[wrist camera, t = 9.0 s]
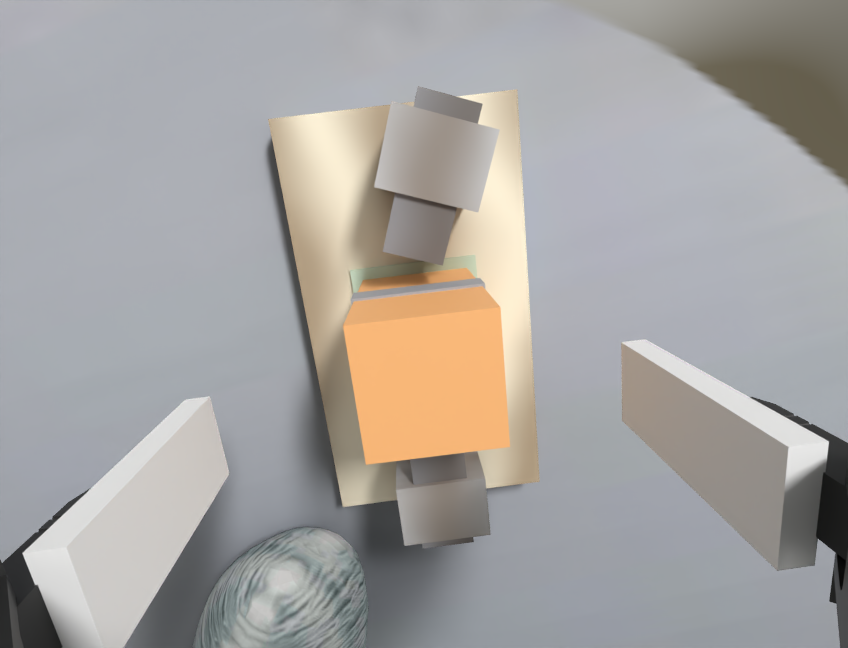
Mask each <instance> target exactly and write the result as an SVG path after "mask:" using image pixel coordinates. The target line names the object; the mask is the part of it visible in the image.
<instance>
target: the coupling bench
mask: <svg viewBox="0 0 848 648" xmlns="http://www.w3.org/2000/svg"><path fill="white" fill-rule="evenodd" d="M268 121H269V126H270V131H271V136H272V141H273V147H274V152H275V157H276V162H277V167H278V173H279V178H280V183H281V188H282V193H283V199H284V204H285V209H286V214H287V219H288V224H289V230H290V235H291V240H292V245H293V250H294V256H295V261H296V266H297V271H298V276H299V282H300V287H301V292H302V297H303V302H304V308H305V313H306V318H307V323H308V328H309V333H310V339H311V344H312V349H313V354H314V359H315V365H316V370H317V375H318V380H319V385H320V391H321V396H322V401H323V406H324V411H325V417H326V422H327V427H328V432H329V437H330V442H331V448H332V453H333V458H334V463H335V468H336V474H337V479H338V484H339V489H340V494H341V500H342V505H343V507H347V506H355V505H363V504H370V503H378V502H386V501H394V500H398V507H399V513H400V520H401V526H402V533H403V539H404V546H408V545H415V544H422V547H423V548H431V547H438V546H446V545H454V544H461V543H469V542H474V541H473V537H476V536H484V535H491V534H490V523H489V513H488V502H487V491H486V488H494V487H501V486H509V485H517V484H525V483H532V482H539V465H538V447H537V430H536V412H535V394H534V377H533V359H532V342H531V324H530V306H529V289H528V271H527V254H526V236H525V218H524V201H523V183H522V166H521V148H520V130H519V113H518V95H517V90H509V91H500V92H492V93H483V94H475V95H467V96H458V97H456V96H452V95H449V94H445V93H441V92H438V91H434V90H430V89H426V88H423V87H419V86H418V88H417V92H416V97H415V102H408V103H397V102H394V101H391V105H383V106H375V107H366V108H358V109H349V110H341V111H333V112H324V113H316V114H308V115H299V116H291V117H282V118H274V119H268ZM460 268H467V269H468V270H469V271H470V272H471V273H472V274H473V276H474V277H475V278H481V279H482V281H483V282H484V283H485V289H486V291H487V292H488V293H489V294H490V295H491V297H492V298H493V299H494V300H495V301H496V302H497V304H498V305H499V306H500V308H501V322H502V337H503V351H504V366H505V380H506V395H507V409H508V424H509V438H510V447H506V448H497V449H489V450H481V451H473V452H465V453H457V454H449V455H441V456H433V457H425V458H417V459H409V460H401V461H393V462H385V463H376V464H368V465H366V462H365V456H364V450H363V444H362V438H361V432H360V426H359V420H358V414H357V408H356V402H355V396H354V390H353V384H352V378H351V372H350V366H349V360H348V354H347V347H346V341H345V335H344V329H343V325H344V322H345V320H346V318H347V315H348V313H349V311H350V309H351V306H352V305H351V297H352V295H353V293H357V292H358V290H359V288H360V286H361V283H362V281H363V280H367V279H375V278H384V277H392V276H401V275H409V274H418V273H426V272H434V271H443V270H451V269H460Z"/></svg>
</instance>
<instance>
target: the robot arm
mask: <svg viewBox="0 0 848 648" xmlns="http://www.w3.org/2000/svg"><path fill="white" fill-rule="evenodd" d="M621 350H622V421H623V422H624V423H625V424H626V425H627V426H628V427H629V428H630V429H631V430H632V431H634V432H635V433H636V434H637V435H638V436H639V437H640V438H641V439H642V440H643V441H644V442H645V443H646V444H647V445H648V446H649V447H650V448H651V449H652V450H653V451H654V452H655V453H656V454H657V455H658V456H659V457H660V458H661V459H662V460H663V461H664V462H666V463H667V464H668V465H669V466H670V467H671V468H672V469H673V470H674V471H675V472H676V473H677V474H678V475H679V476H680V477H681V478H682V479H683V480H684V481H685V482H686V483H687V484H688V485H689V486H690V487H691V488H692V489H693V490H694V491H695V492H696V493H697V494H699V495H700V496H701V497H702V498H703V499H704V500H705V501H706V502H707V503H708V504H709V505H710V506H711V507H712V508H713V509H714V510H715V511H716V512H717V513H718V514H719V515H720V516H721V517H722V518H723V519H724V520H725V521H726V522H727V523H728V524H729V525H730V526H732V527H733V528H734V529H735V530H736V531H737V532H738V533H739V534H740V535H741V536H742V537H743V538H744V539H745V540H746V541H747V542H748V543H749V544H750V545H751V546H752V547H753V548H754V549H755V550H756V551H757V552H758V553H759V554H760V555H761V556H762V557H763V558H765V559H766V560H767V561H768V562H769V563H770V564H771V565H772V566H773V567H774V568H775V569H776V570H777V571H779V570H786V569H793V568H800V567H807V566H814V565H815V557H816V549H817V540H818V539H819V540H821V541H822V542H823V543H824V544H826V545H827V546H828V547H829V548H831V549H832V550H833V551H834V552H836V554H835V562H834V569H833V577H832V585H831V593H830V600H829V601H830V602H833V603H836V604H837V614H838V626H839V637H840V648H848V443H847V442H845V441H843V440H841V439H839V438H837V437H836V436H834V435H832V434H830V433H828V432H826V431H824V430H823V429H821V428H819V427H817V426H815V425H813V424H811V425H810V424H809V422H808V421H806V420H804V419H802V418H800V417H798V416H794V414H793V413H791V412H789V411H787V410H785V409H783V408H781V407H780V406H778V405H776V404H773V403H770V402H767V401H763V400H760V399H757V398H754V397H748V396H746V395H744V394H743V393H741V392H739V391H737V390H735V389H734V388H732V387H730V386H728V385H726V384H725V383H723V382H721V381H719V380H717V379H716V378H714V377H712V376H710V375H708V374H707V373H705V372H703V371H701V370H699V369H698V368H696V367H694V366H692V365H690V364H689V363H687V362H685V361H683V360H681V359H679V358H678V357H676V356H674V355H672V354H670V353H669V352H667V351H665V350H663V349H661V348H660V347H658V346H656V345H654V344H652V343H651V342H649V341H647V340H645V339H643V340H636V341H628V342H621ZM228 476H229V470H228V466H227V462H226V458H225V454H224V450H223V446H222V442H221V438H220V434H219V430H218V427H217V423H216V419H215V415H214V411H213V407H212V403H211V399H210V397H202V398H194V399H187V400H184V401H183V402H182V403H181V404H180V405H179V406H178V407H177V408H176V409H175V410H174V411H173V412H172V413H171V414H170V415H168V416H167V417H166V418H165V419H164V420H163V421H162V422H161V423H160V424H159V425H158V426H157V427H156V428H155V429H154V430H153V431H152V432H150V433H149V434H148V435H147V436H146V437H145V438H144V439H143V440H142V441H141V442H140V443H139V444H138V445H137V446H136V447H135V448H133V449H132V450H131V451H130V452H129V453H128V454H127V455H126V456H125V457H124V458H123V459H122V460H121V461H120V462H119V463H118V464H116V465H115V466H114V467H113V468H112V469H111V470H110V471H109V472H108V473H107V474H106V475H105V476H104V477H103V478H102V479H101V480H100V481H98V482H97V483H96V484H95V485H94V486H93V487H92V488H90V489H89V490H87V491H86V492H84V493H82V494H81V495H79V496H78V497H76V498H74V499H73V500H71V501H70V502H68V503H67V504H66V505H65V506H64V507H63V508H62V509H61V510H60V511H58V512H57V513H56V514H55V515H54V516H53V519H52V520H49V521H48V522H46V523H45V524H44V525H43V526H42V527H41V528H40V529H39V532H37V533H35V534H33V535H32V536H31V537H30V538H29V539H28V540H27V541H26V542H25V543H24V544H23V545H21V546H20V547H19V548H18V549H17V550H16V551H15V552H14V553H13V554H12V555H11V556H10V557H8V558H7V559H6V560H5V561H4V562H3V563H1V560H0V648H124V646H125V644H126V643H127V641H128V639H129V638H130V636H131V634H132V633H133V631H134V630H135V628H136V626H137V625H138V623H139V621H140V620H141V618H142V616H143V615H144V613H145V612H146V610H147V608H148V607H149V605H150V603H151V602H152V600H153V598H154V597H155V595H156V593H157V592H158V590H159V589H160V587H161V585H162V584H163V582H164V580H165V579H166V577H167V575H168V574H169V572H170V571H171V569H172V567H173V566H174V564H175V562H176V561H177V559H178V557H179V556H180V554H181V553H182V551H183V549H184V548H185V546H186V544H187V543H188V541H189V539H190V538H191V536H192V535H193V533H194V531H195V530H196V528H197V526H198V525H199V523H200V521H201V520H202V518H203V516H204V515H205V513H206V512H207V510H208V508H209V507H210V505H211V503H212V502H213V500H214V498H215V497H216V495H217V494H218V492H219V490H220V489H221V487H222V485H223V484H224V482H225V480H226V479H227V477H228Z"/></svg>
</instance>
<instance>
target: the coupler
mask: <svg viewBox="0 0 848 648" xmlns="http://www.w3.org/2000/svg"><path fill="white" fill-rule="evenodd" d="M351 305H352V306H351V309H350V311H349V313H348V315H347V318H346V320H345V322H344V325H343V329H344V335H345V341H346V347H347V354H348V360H349V366H350V372H351V378H352V384H353V390H354V396H355V402H356V408H357V414H358V420H359V426H360V432H361V438H362V444H363V450H364V456H365V462H366V465H368V464H376V463H385V462H393V461H401V460H409V459H417V458H425V457H433V456H441V455H449V454H457V453H465V452H473V451H481V450H489V449H497V448H506V447H510V438H509V424H508V409H507V395H506V380H505V366H504V351H503V337H502V322H501V308H500V306H499V305H498V304H497V302H496V301H495V300H494V299H493V298H492V297H491V295H490V294H489V293H488V292H487V291H486V289H485V283H484V282H483V281H482V279H481V278H475V277H474V276H473V274H472V273H471V272H470V271H469V270H468V269H467V268H460V269H451V270H443V271H434V272H426V273H418V274H409V275H401V276H392V277H384V278H375V279H367V280H363V281H362V283H361V286H360V288H359V290H358V292H357V293H353V295H352V297H351Z"/></svg>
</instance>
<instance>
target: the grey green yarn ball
mask: <svg viewBox="0 0 848 648" xmlns="http://www.w3.org/2000/svg"><path fill="white" fill-rule="evenodd" d="M368 609H369V608H368V600H367V591H366V583H365V577H364V572H363V569H362V566H361V563H360V560H359V558H358V555H357V552H356V551H355V550H354V549H353V548H352V547H351V545H350V544H349V543H348V542H347V541H346V540H344V539H343V538H342V537H341V536H340V535H338V534H336V533H334V532H331V531H329V530H326V529H322V528H311V527H301V528H295V529H292V530H288V531H285V532H282V533H280V534H278V535H276V536H274V537H271V538H270V539H268V540H266V541H264V542H262V543H260V544H259V545H257V546H255V547H253V548H251V549H250V550H249V551H247V552H246V553H245V554H244V555H242V556H241V557H239V558H238V559H237V560H236V561H235V562H234V563H233V564H232V565H231V566H230V567H229V568H228V569H227V570H226V571H225V572H224V574H223V575H222V576H221V577H220V579H219V580H218V581H217V583H216V585H215V586H214V588H213V590H212V592H211V594H210V596H209V598H208V600H207V603H206V605H205V608H204V610H203V613H202V615H201V618H200V621H199V624H198V627H197V631H196V635H195V639H194V643H193V647H192V648H365V643H366V636H367V617H368Z"/></svg>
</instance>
